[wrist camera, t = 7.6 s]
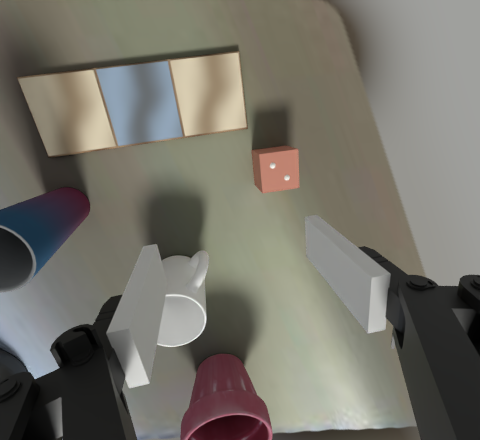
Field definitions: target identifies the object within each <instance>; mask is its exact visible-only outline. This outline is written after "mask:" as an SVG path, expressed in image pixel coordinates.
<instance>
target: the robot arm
mask: <svg viewBox="0 0 480 440" xmlns="http://www.w3.org/2000/svg"><path fill="white" fill-rule="evenodd" d="M305 232H306V256H307V258H308V259H309V260H310V261H311V263H312V264H313V265H314V266H315V268H316V269H317V270H318V271H319V273H320V274H321V275H322V276H323V278H324V279H325V280H326V281H327V283H328V284H329V285H330V287H331V288H332V289H333V290H334V292H335V293H336V294H337V295H338V297H339V298H340V299H341V300H342V302H343V303H344V304H345V305H346V307H347V308H348V309H349V310H350V312H351V313H352V314H353V315H354V317H355V318H356V319H357V321H358V322H359V323H360V324H361V326H362V327H363V328H364V329H365V331H366V332H367V333H372V332H377V331H381V330H385V325H386V318H387V319H388V320H389V321H390V322H391V323H392V325H393V333H392V341H391V348H392V349H394V346H395V345H396V348H397V352H398V356H399V360H400V363H401V367H402V371H403V375H404V378H405V382H406V386H407V390H408V393H409V397H410V401H411V404H412V408H413V412H414V416H415V419H416V423H417V427H418V430H419V434H420V438H421V440H480V275H466V276H463V277H462V278H460V281H459V286H438V285H437V284H436V283H435V282H434V281H432V280H430V279H429V278H426V277H423V276H418V275H407V274H406V273H405V272H403V271H402V270H401V269H399V268H398V267H397V266H395V265H394V264H393V263H391V262H390V261H388V260H387V259H386V258H384V257H382V255H380V254H379V253H378V252H376V251H375V250H373V249H370V248H368V247H365V246H364V247H357V246H355V245H354V244H353V243H352V242H350V241H349V240H348V239H347V238H345V237H344V236H343V235H342V234H340V233H339V232H338V231H337V230H335V229H334V228H333V227H332V226H330V225H329V224H328V223H327V222H325V221H324V220H323V219H322V218H320V217H319V216H318V215H313V216H307V217H305ZM167 286H168V282H167V279H166V275H165V271H164V268H163V264H162V261H161V257H160V254H159V250H158V246H157V244H153V245H148V246H143V248H142V251H141V253H140V255H139V258H138V260H137V262H136V265H135V267H134V269H133V272H132V274H131V276H130V279H129V281H128V283H127V286H126V288H125V290H124V293H123V295H118V296H113V297H111V298H110V299H109V300H108V301H107V302H106V303H105V304H104V305H103V306H102V308H101V310H100V312H99V315H98V316H97V318H96V320H95V322H94V324H93V325H89V324H84V325H79V326H76V327H73V328H71V329H69V330H68V331H66V332H64V333H63V334H62V335H60V336H59V337H58V338H57V339H56V340H55V341H54V343H53V344H52V346H51V349H50V351H51V353H52V355H53V356H54V358H55V360H56V362H57V364H58V366H59V367H60V368H59V369H57V370H55V371H53V372H51V373H48V374H46V375H44V376H42V377H39V378H37V379H34V377H33V376H32V374H31V373H30V372H27V371H26V369H25V367H24V366H23V364H22V363H21V362H20V361H19V360H18V359H16V358H15V357H14V356H12V355H11V354H9V353H7V352H5V351H3V350H1V349H0V440H62V438H63V440H137V437H136V434H135V430H134V427H133V423H132V420H131V416H130V413H129V409H128V406H127V402H126V399H125V396H124V393H123V391H122V387H123V384H124V380H125V379H126V381H127V384H128V386H129V388H132V387H137V386H141V385H146V384H150V379H151V374H152V368H153V363H154V357H155V352H156V346H157V341H158V335H159V330H160V324H161V319H162V313H163V308H164V302H165V297H166V291H167Z"/></svg>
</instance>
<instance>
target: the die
mask: <svg viewBox="0 0 480 440" xmlns="http://www.w3.org/2000/svg"><path fill="white" fill-rule="evenodd" d="M252 159H253V170H254V181H255V185H256V187H257V188H258V189H259V190H260V191H261V192H262V193H267V192H274V191H281V190H287V189H294V188H299V161H298V149H296V148H293V147H289V146H279V147H271V148H264V149H256V150H252Z"/></svg>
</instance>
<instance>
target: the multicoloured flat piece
mask: <svg viewBox="0 0 480 440" xmlns="http://www.w3.org/2000/svg"><path fill="white" fill-rule="evenodd" d="M17 79H18V81H19V84H20V86H21V89H22V91H23V94H24V96H25V99H26V102H27V104H28V107H29V109H30V112H31V114H32V117H33V119H34V122H35V124H36V127H37V129H38V132H39V134H40V137H41V139H42V142H43V144H44V147H45V149H46V152H47V154H48V157H49V158H51V157H58V156H64V155H71V154H78V153H85V152H92V151H99V150H105V149H112V148H119V147H126V146H133V145H139V144H146V143H153V142H160V141H167V140H173V139H180V138H187V137H194V136H201V135H207V134H214V133H221V132H228V131H235V130H242V129H248V126H247V118H246V109H245V100H244V91H243V82H242V73H241V65H240V56H239V51H234V52H225V53H217V54H208V55H200V56H192V57H183V58H175V59H166V60H158V61H150V62H141V63H133V64H124V65H116V66H107V67H99V68H91V69H82V70H74V71H65V72H57V73H49V74H40V75H32V76H23V77H17Z"/></svg>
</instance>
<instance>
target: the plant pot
mask: <svg viewBox="0 0 480 440" xmlns="http://www.w3.org/2000/svg"><path fill="white" fill-rule="evenodd" d="M181 440H272V427H271V422H270V418H269V414H268V410H267V407H266V404H265V403H264V401H263V400H262V399H261V398H260V397H259V396H257V394H256V391H255V389H254V387H253V384H252V382H251V380H250V378H249V376H248V374H247V371H246V369H245V367H244V365H243V363H242V361H241V360H240V359H239V358H238V357H236V356H234V355H231V354H216V355H213V356H210V357H208V358H207V359H205V360H204V361H203V362H202V363H201V364H200V366H199V367H198V370H197V374H196V379H195V383H194V387H193V392H192V396H191V401H190V405H189V409H188V410H187V411H186V413H185V414H184V416H183V419H182V423H181Z"/></svg>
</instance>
